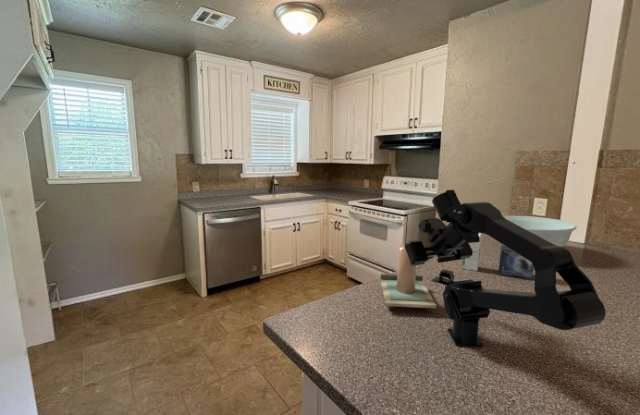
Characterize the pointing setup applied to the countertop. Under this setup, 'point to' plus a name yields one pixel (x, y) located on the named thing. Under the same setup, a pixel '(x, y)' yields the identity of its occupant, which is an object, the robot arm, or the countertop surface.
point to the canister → (405, 272)
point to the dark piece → (442, 280)
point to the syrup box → (473, 256)
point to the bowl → (545, 228)
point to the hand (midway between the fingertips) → (424, 262)
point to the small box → (514, 264)
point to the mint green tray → (398, 299)
